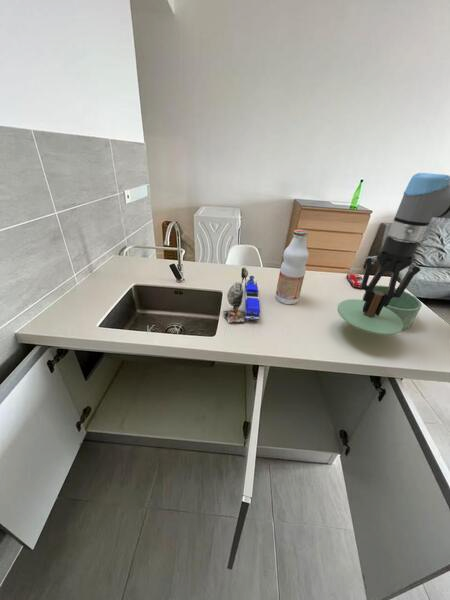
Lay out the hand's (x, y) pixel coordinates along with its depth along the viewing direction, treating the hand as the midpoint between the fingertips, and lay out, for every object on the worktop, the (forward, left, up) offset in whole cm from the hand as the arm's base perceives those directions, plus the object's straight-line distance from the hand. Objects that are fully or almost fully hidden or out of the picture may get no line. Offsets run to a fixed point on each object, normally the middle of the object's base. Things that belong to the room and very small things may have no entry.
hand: (370, 311), depth 77 cm
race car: (+3, -43, -10) cm, 44 cm away
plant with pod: (+42, +11, -10) cm, 44 cm away
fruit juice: (+28, -11, -10) cm, 32 cm away
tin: (-8, -18, -10) cm, 22 cm away
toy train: (+40, -1, -7) cm, 41 cm away
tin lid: (0, 0, -2) cm, 2 cm away
